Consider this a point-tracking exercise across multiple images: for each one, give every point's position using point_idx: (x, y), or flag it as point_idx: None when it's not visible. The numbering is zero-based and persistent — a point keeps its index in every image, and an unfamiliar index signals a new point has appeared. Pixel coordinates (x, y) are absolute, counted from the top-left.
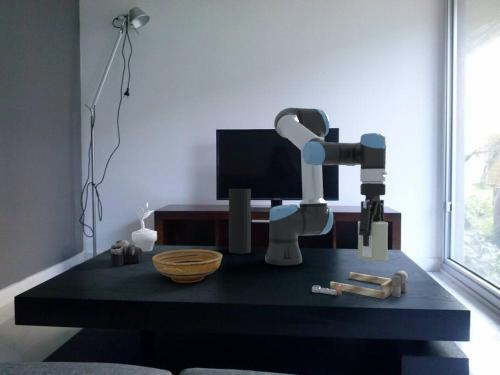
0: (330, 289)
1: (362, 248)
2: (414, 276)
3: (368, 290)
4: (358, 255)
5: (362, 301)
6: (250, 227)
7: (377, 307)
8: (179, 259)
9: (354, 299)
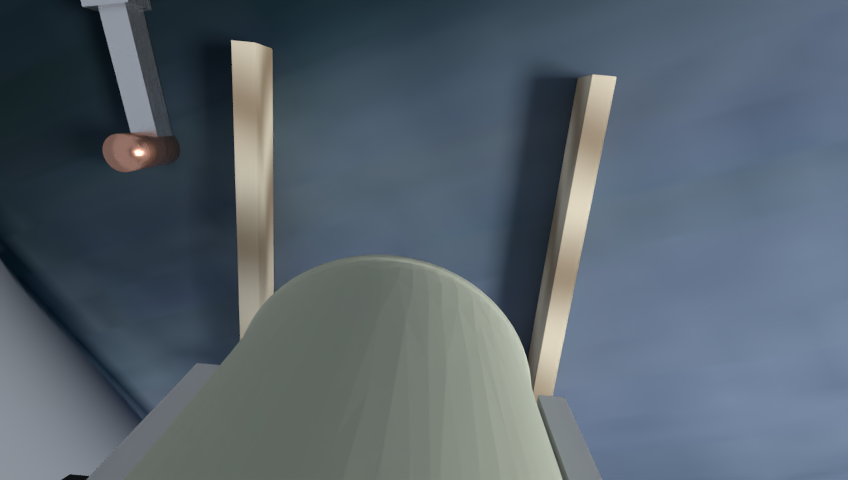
0: (136, 90)
1: (141, 423)
2: (820, 425)
3: (243, 308)
4: (286, 293)
5: (149, 292)
6: None
7: (117, 370)
8: None
9: (150, 249)
